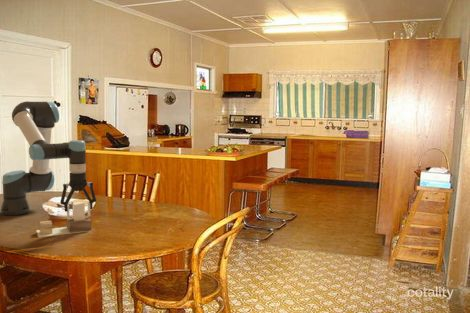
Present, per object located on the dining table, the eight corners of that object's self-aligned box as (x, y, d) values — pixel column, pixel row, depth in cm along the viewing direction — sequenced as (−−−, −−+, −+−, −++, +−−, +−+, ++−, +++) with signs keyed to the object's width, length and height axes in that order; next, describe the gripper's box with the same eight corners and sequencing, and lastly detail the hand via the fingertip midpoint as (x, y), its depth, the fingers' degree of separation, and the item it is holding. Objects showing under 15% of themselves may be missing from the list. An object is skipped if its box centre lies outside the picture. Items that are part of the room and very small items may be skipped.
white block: (72, 218, 214) (72, 202, 213) (83, 217, 216) (82, 201, 215) (74, 220, 210) (73, 204, 209) (84, 219, 212) (84, 203, 211)
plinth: (67, 227, 216) (66, 217, 215) (87, 225, 220) (87, 215, 220) (69, 232, 207) (69, 222, 206) (91, 230, 212) (91, 220, 211)
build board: (36, 231, 210) (36, 230, 210) (87, 226, 221) (87, 224, 221) (38, 238, 200) (38, 237, 199) (91, 232, 211) (91, 230, 211)
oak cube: (40, 231, 208) (39, 221, 207) (51, 230, 210) (51, 220, 209) (41, 234, 203) (40, 224, 203) (52, 233, 206) (52, 223, 205)
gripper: (54, 174, 202) (55, 221, 204) (102, 171, 212) (103, 216, 215) (52, 172, 208) (54, 217, 211) (99, 169, 219) (100, 212, 221)
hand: (78, 216), depth 213 cm, fingers open, 9 cm apart
